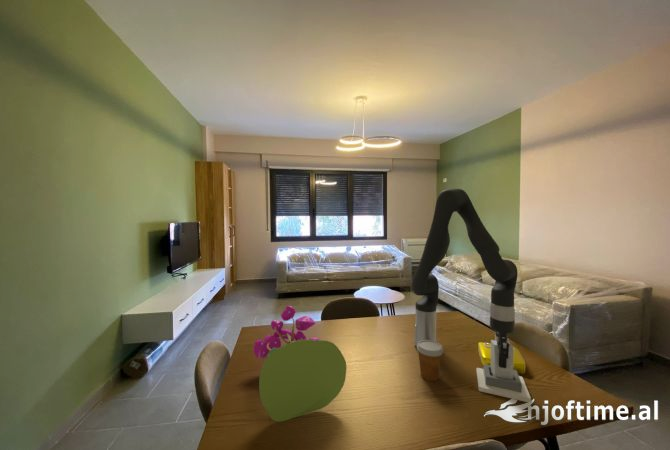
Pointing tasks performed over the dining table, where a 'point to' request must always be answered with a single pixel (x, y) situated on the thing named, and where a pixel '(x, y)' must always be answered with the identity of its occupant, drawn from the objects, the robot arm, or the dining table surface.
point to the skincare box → (495, 367)
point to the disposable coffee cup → (429, 359)
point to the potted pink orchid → (298, 370)
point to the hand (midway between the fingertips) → (501, 363)
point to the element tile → (485, 357)
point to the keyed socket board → (502, 385)
